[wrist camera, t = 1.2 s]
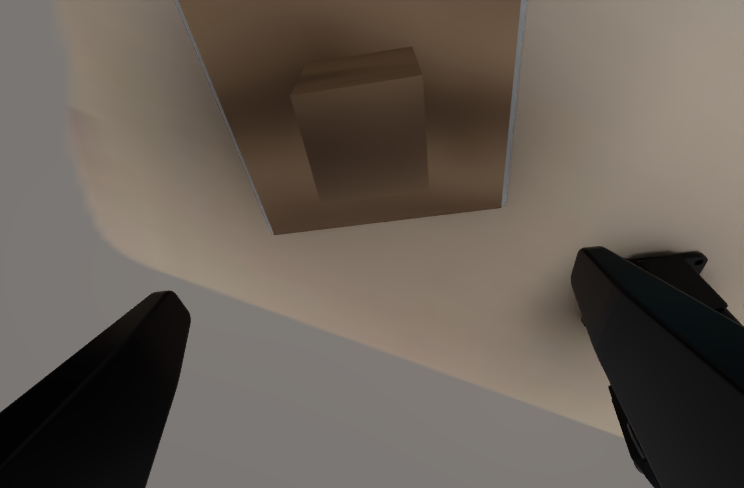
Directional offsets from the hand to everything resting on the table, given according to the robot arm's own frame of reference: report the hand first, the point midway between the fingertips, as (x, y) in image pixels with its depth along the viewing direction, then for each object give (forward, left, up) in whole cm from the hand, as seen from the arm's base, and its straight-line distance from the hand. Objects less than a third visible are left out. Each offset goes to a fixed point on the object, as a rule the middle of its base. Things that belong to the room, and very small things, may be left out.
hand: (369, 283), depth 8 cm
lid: (0, 0, -12) cm, 12 cm away
